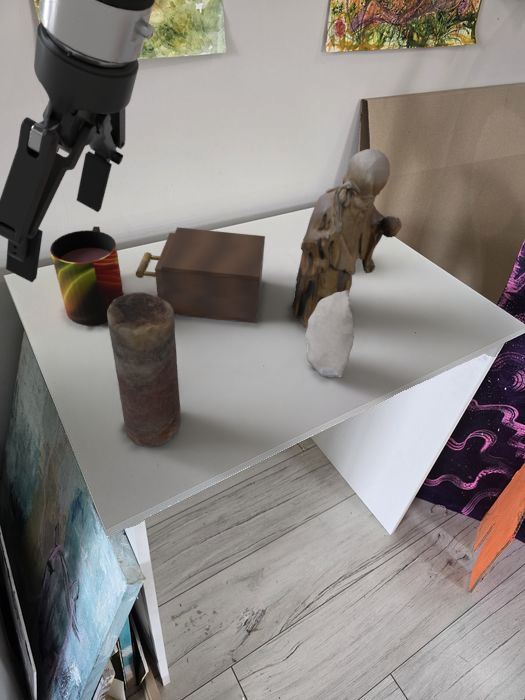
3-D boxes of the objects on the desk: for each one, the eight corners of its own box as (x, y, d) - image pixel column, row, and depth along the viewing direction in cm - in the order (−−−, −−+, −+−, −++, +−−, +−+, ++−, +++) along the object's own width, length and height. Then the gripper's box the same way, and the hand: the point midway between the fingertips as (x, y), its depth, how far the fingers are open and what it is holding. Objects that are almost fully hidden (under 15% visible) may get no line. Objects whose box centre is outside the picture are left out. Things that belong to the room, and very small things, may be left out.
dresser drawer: (133, 304, 84) (128, 266, 78) (150, 267, 92) (146, 230, 87) (243, 315, 83) (245, 277, 78) (249, 277, 92) (251, 240, 86)
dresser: (164, 314, 84) (160, 266, 77) (179, 272, 93) (177, 227, 86) (255, 323, 84) (259, 276, 77) (261, 280, 93) (265, 235, 86)
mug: (107, 273, 91) (96, 214, 83) (133, 315, 83) (124, 254, 75) (53, 286, 87) (36, 225, 79) (75, 332, 79) (59, 270, 71)
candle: (151, 397, 70) (137, 282, 56) (193, 420, 68) (188, 305, 54) (113, 433, 65) (88, 316, 51) (157, 459, 63) (142, 343, 49)
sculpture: (295, 341, 81) (323, 161, 60) (275, 301, 88) (294, 129, 68) (379, 328, 85) (432, 155, 64) (353, 291, 92) (394, 126, 72)
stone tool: (294, 358, 78) (306, 280, 68) (308, 349, 80) (322, 272, 69) (336, 392, 73) (357, 314, 63) (350, 383, 75) (373, 305, 65)
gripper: (48, 130, 30) (24, 330, 45) (191, 26, 47) (138, 197, 62) (-72, 61, 29) (-56, 290, 44) (119, -21, 45) (83, 166, 61)
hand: (57, 236), depth 53 cm, fingers open, 13 cm apart
